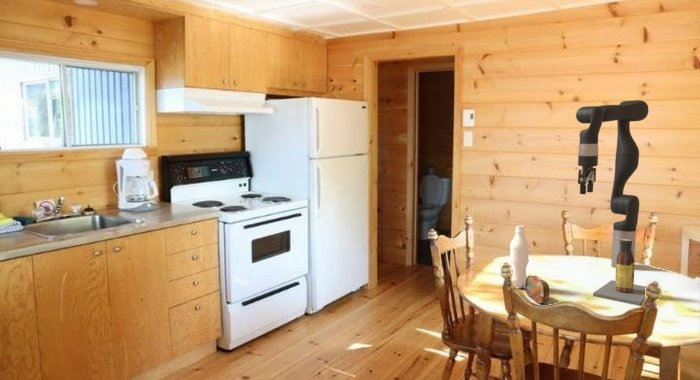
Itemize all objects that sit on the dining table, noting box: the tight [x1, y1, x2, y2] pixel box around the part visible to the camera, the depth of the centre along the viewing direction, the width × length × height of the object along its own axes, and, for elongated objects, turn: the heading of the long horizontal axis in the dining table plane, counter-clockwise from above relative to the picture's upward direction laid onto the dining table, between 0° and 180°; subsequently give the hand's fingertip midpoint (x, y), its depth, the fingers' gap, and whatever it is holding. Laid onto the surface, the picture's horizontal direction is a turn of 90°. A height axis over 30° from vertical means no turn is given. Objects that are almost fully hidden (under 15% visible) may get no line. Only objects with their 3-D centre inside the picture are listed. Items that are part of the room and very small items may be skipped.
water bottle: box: [509, 224, 530, 290], centre depth 205 cm, size 7×7×25 cm
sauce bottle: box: [614, 239, 636, 292], centre depth 196 cm, size 6×6×20 cm
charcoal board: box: [592, 280, 647, 307], centre depth 197 cm, size 22×16×1 cm
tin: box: [525, 274, 551, 304], centre depth 190 cm, size 15×3×8 cm, turn 5°
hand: (586, 193), depth 216 cm, fingers open, 8 cm apart
